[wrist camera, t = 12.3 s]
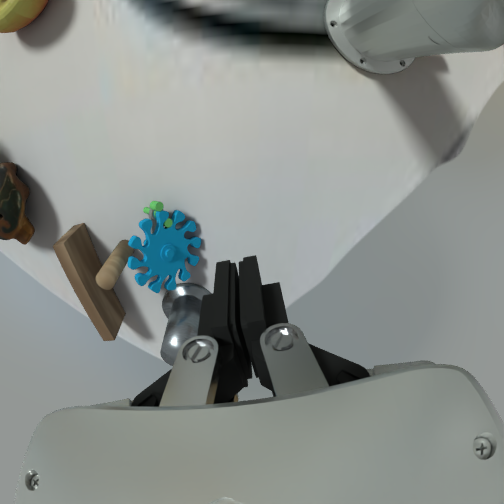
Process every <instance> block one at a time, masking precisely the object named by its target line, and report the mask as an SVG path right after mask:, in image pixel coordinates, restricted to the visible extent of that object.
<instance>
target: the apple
mask: <svg viewBox="0 0 504 504" xmlns="http://www.w3.org/2000/svg"><path fill="white" fill-rule="evenodd" d="M47 2H48V0H0V33H9V32H15V31H17V30H19V29H21V28H23V27H25V26H27V25H28V24H30V23H31V22H32V21H33V20H34V19H35V18H37V17H38V15H39V14H40V13H41V12H42V10H43V9H44V8H45V6H46V4H47Z"/></svg>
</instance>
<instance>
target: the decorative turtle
mask: <svg viewBox="0 0 504 504" xmlns="http://www.w3.org/2000/svg"><path fill="white" fill-rule="evenodd" d="M16 171H17V167H16V165H15V164H14V163H12V162H11V163H10V162H6V163H0V239H2V240H10V239H16V240H18V241H19V242H21V243H22V244H27V243H28V242H29V240H30V239H31V237H32V236H33V234H34V232H35V229H34V227H33V225H32V224H31V222H30V221H29V219H28V218H27V217H26V215H25V202H26V199H27V198H28V196H29V188H28V186H27V185H25V184H24V183H23V182H22V181H20V180H19V179H18V177H17V176H16Z"/></svg>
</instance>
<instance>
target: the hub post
mask: <svg viewBox="0 0 504 504" xmlns="http://www.w3.org/2000/svg"><path fill="white" fill-rule="evenodd" d="M207 294H211V293H210V292H209V291H208V290H207V289H205V288H204V287H202V286H199V285H196V284H192V283H181V284H177V287H176V289H175V290H167V292H166V293H165V295H164V298H163V301H162V308H163V311H164V313H165V315H166V316H167V318H168V323H167V327H166V331H165V335H164V339H163V343H162V348H161V357H162V358H163V360H164V361H165V362H166V363H168V364H170V365H172V366H173V365H174V362H175V359H176V357H177V354H178V351H179V349H180V347H181V345H182V344H183V343H184V342H185V341H187V340H189V339H190V338H193V337H196V336H197V334H198V326H199V318H200V311H201V304H202V297H203V295H207Z"/></svg>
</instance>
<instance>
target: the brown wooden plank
mask: <svg viewBox="0 0 504 504" xmlns="http://www.w3.org/2000/svg"><path fill="white" fill-rule="evenodd" d="M53 248H54V250H55V253H56V255H57V257H58V259H59V261H60V263H61V265H62V267H63V270H64V272H65V274H66V276H67V278H68V280H69V281H70V283H71V285H72V287H73V289H74V291H75V293H76V295H77V297H78V298H79V300H80V302H81V304H82V305H83V307H84V309H85V311H86V312H87V314H88V316H89V318H90V319H91V321H92V322H93V324H94V326H95V327H96V329H97V331H98V332H99V334H100V335H101V337H102V338H103V340H104V341H111V340H115V338H116V336H117V333H118V331H119V329H120V326H121V324H122V321H123V319H124V316H125V312H124V310H123V308H122V306H121V304H120V302H119V300H118V298H117V296H116V294H115V292H114V290H113V288H112V289H110V290H105V289H103V288H101V287H100V286H99V285H98V284H97V282H96V275H97V274H98V272H99V271H100V269H101V268H102V265H101V262H100V260H99V258H98V256H97V253H96V251H95V249H94V246H93V244H92V241H91V239H90V237H89V234H88V232H87V229H86V227H85V224H84V223H82V224H78V225H75V226H73V227H72V228H71V229H70V230H69V231H68V232H67V233H66V234H64V235H63V236H62V237H61V238H60V239H59V240H58V241H57V242H56V243H55V244H54V245H53Z"/></svg>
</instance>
